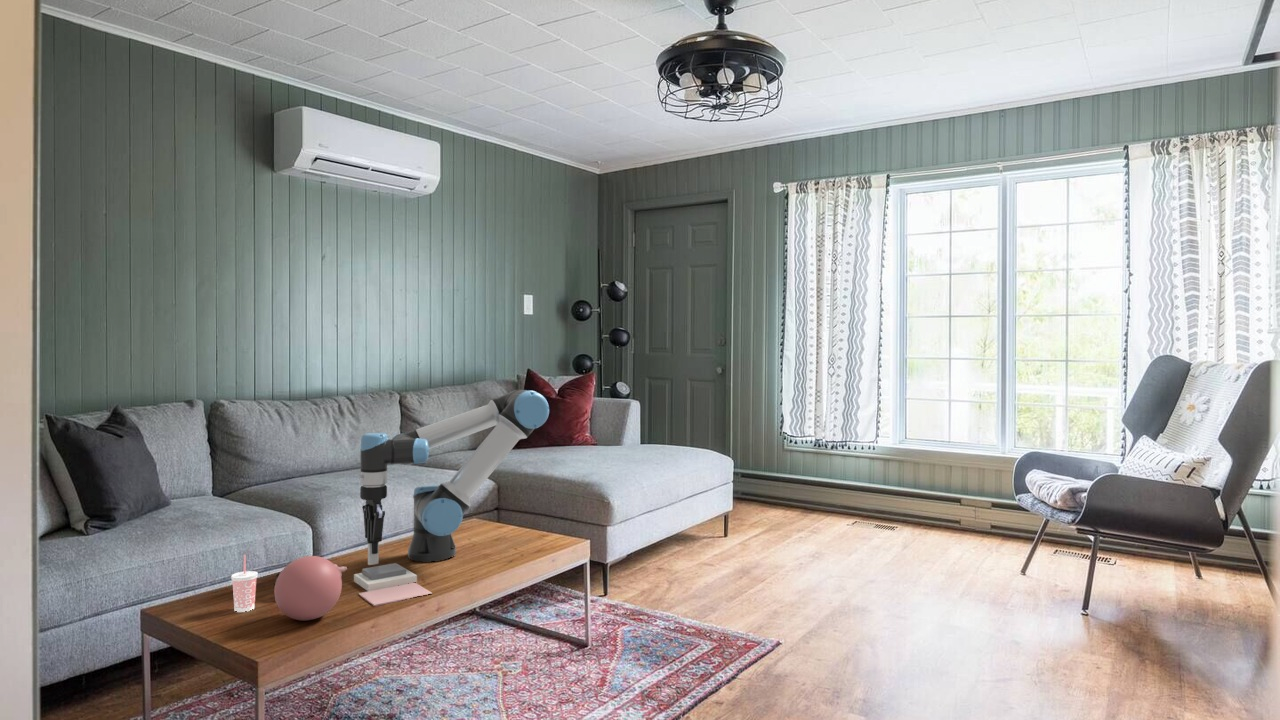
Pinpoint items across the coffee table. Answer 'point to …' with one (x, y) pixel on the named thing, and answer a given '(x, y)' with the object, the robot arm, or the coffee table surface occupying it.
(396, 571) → the coaster
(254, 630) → the coffee table surface
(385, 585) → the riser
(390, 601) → the felt mat
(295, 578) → the balloon
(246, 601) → the beverage cup
